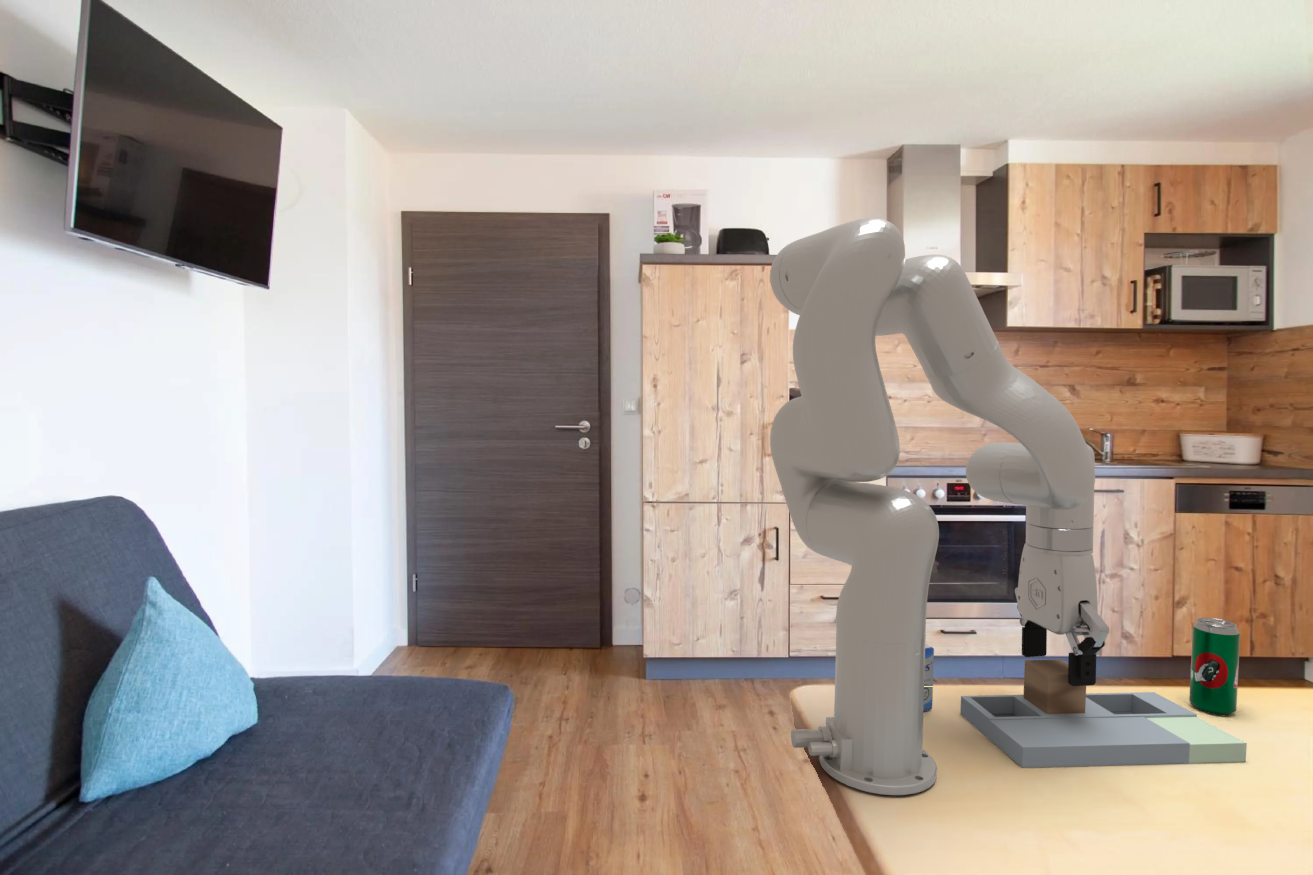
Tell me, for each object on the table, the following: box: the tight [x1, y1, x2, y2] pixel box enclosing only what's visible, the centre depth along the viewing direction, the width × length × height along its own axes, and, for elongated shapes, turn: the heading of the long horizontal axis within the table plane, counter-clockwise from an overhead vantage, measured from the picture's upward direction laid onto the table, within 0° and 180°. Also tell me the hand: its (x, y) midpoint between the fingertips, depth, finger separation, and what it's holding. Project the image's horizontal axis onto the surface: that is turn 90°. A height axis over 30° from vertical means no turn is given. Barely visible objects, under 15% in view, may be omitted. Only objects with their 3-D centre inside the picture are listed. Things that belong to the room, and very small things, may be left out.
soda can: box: [1188, 617, 1241, 716], centre depth 98 cm, size 5×5×12 cm
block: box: [1023, 659, 1087, 714], centre depth 92 cm, size 5×5×5 cm
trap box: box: [960, 691, 1248, 769], centre depth 89 cm, size 27×14×2 cm, turn 94°
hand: (1056, 669), depth 93 cm, fingers open, 9 cm apart
